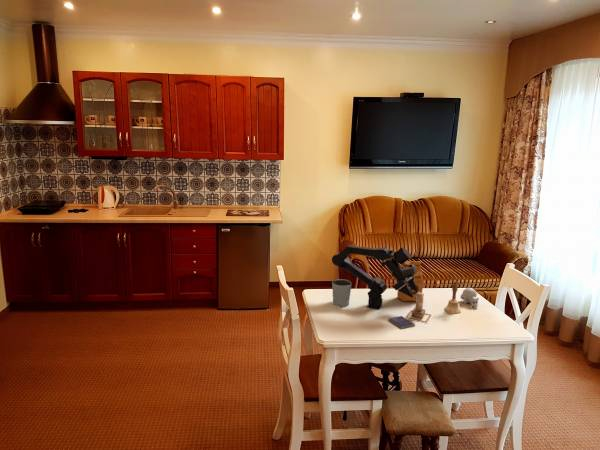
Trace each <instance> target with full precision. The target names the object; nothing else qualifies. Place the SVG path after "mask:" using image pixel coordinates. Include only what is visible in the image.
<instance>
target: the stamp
mask: <svg viewBox="0 0 600 450" xmlns="http://www.w3.org/2000/svg"><path fill="white" fill-rule="evenodd" d="M424 295H425V293H423V292H422V293H421V292H418V293H417V296H416V301H415V307H414V308H413V309H411V310H412V315H411V316H412V317H415V318H419V319H422V318H423V317H424V315H425V313H426V309H423V306H424V297H425V296H424Z"/></svg>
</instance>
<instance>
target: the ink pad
mask: <svg viewBox="0 0 600 450" xmlns="http://www.w3.org/2000/svg"><path fill="white" fill-rule="evenodd" d="M404 317H405V316H402V315H400V316H395V317H390V318H388V319H387V321H389V322H390V323H391V324H393V325H395V326H397V327H398V328H400V329H407V328H411V327H415V326H416V323H414V322H412V321H411V320H410V319H406V318H404Z"/></svg>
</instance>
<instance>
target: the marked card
mask: <svg viewBox="0 0 600 450" xmlns="http://www.w3.org/2000/svg"><path fill="white" fill-rule="evenodd" d="M412 310H413V309H409V310H408V311H407V313H406V314H405V316H403V317H404V318H406V319H407V320H409V321H411V320H412V321H415V322H420V323H424V324H427V325H428V324H429V322H430V321H431V320H432V318H433V317H434V315H433V314H431V313H426V312H425V315H424V317H423V318H422V319H419V318H415V317H412V316H411V315H412Z"/></svg>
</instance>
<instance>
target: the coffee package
mask: <svg viewBox="0 0 600 450" xmlns="http://www.w3.org/2000/svg"><path fill="white" fill-rule="evenodd" d="M410 264H413V265H414V266H415V267H416V271H417V272H416V273H415V275H414V276H415V278H414V282H415V284H416V287H417V289H418V292H421V293H423V288H424V287H423V286H424V278H423V277H424V276H423V272H422V267H421V266H422V261H421V260H420V261H418V260H417V261H409V260H407V261H406V262H404V263H403V264H401V267H404V268H407V267H409V265H410ZM414 276H412V277H414ZM408 288H409V289H410V291H411V293H412V294H413V297H412V298H411V297H410V296H408V295H406V294H404V293H402V292H400V291H397V293H396V294H397V296H396V297H397V298H398V299H400V301H403V302H416V296H417V293H418V292H416V291H414V290H413V289H411V288H410V287H409V286H408Z"/></svg>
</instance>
